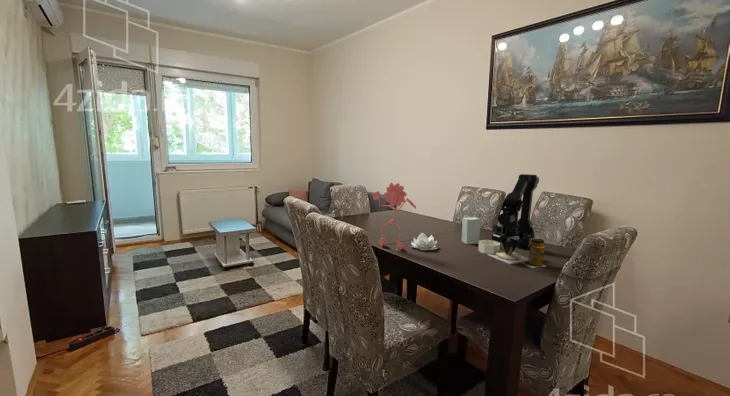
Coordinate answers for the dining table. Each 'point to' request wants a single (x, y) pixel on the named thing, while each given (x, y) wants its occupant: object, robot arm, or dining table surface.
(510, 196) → the robot arm
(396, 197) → the figurine
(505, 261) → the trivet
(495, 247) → the bowl
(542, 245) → the condiment
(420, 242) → the lotus flower
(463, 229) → the skincare box
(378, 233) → the dining table surface
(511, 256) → the lid
